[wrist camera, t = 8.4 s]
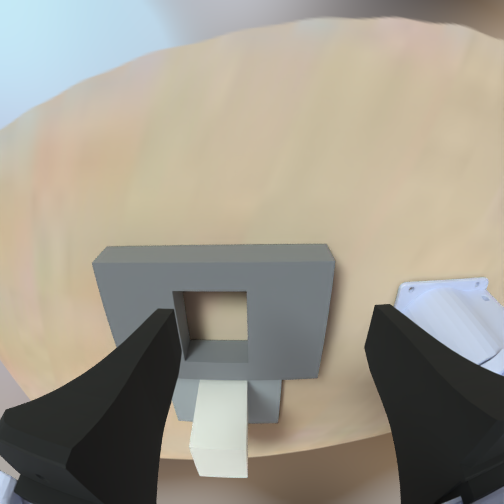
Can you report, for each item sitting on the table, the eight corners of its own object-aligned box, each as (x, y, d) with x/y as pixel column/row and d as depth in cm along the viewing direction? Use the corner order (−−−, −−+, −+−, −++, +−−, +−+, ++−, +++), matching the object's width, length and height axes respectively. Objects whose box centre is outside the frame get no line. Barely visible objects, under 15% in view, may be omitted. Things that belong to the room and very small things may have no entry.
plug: (247, 379, 25) (246, 449, 18) (248, 415, 27) (247, 477, 21) (199, 378, 25) (189, 447, 18) (206, 414, 27) (199, 475, 21)
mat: (281, 365, 25) (282, 370, 24) (277, 418, 28) (277, 422, 28) (164, 363, 25) (162, 368, 24) (179, 416, 28) (178, 420, 28)
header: (326, 243, 20) (335, 261, 18) (312, 356, 24) (317, 378, 22) (106, 246, 20) (91, 262, 18) (134, 353, 25) (126, 373, 22)
